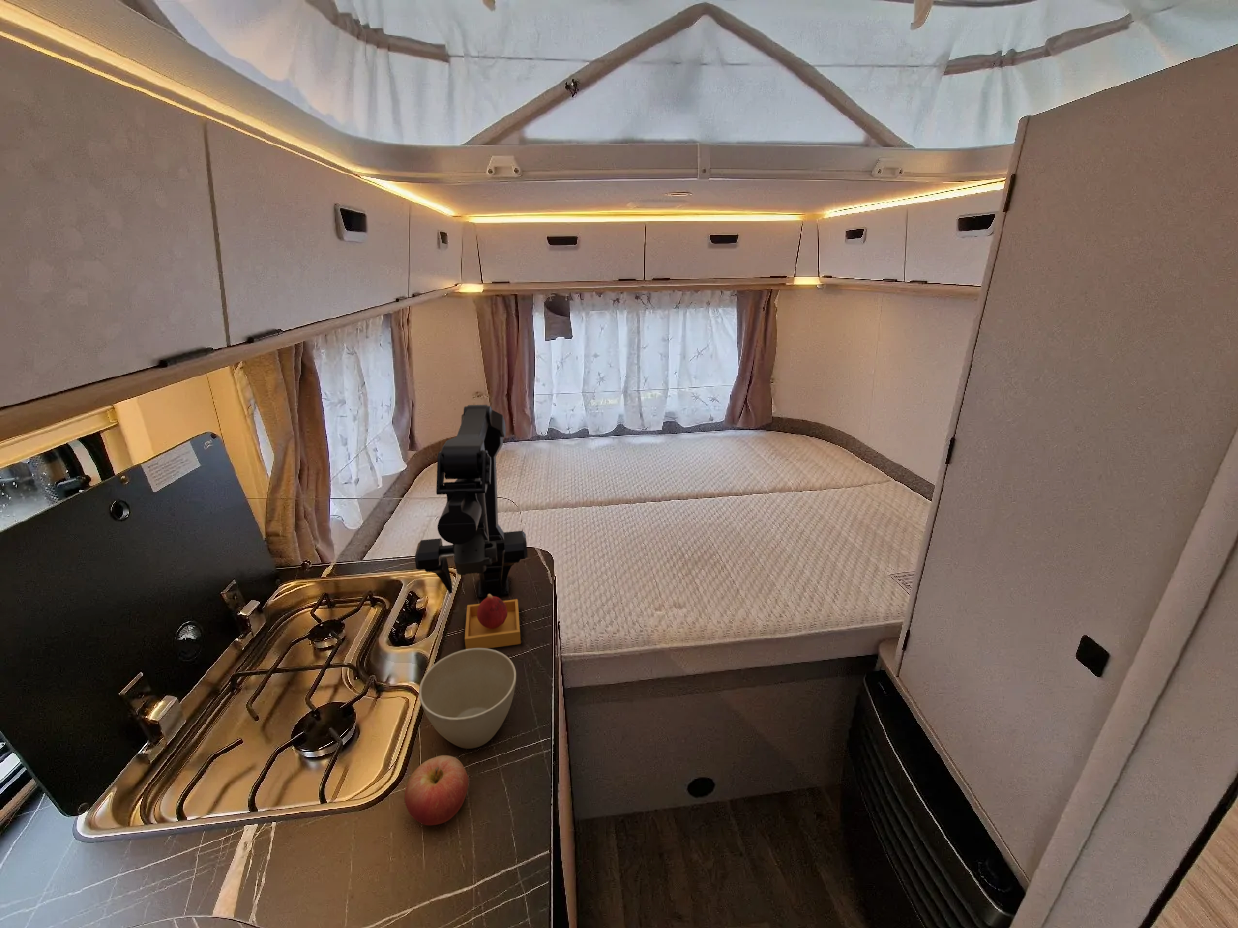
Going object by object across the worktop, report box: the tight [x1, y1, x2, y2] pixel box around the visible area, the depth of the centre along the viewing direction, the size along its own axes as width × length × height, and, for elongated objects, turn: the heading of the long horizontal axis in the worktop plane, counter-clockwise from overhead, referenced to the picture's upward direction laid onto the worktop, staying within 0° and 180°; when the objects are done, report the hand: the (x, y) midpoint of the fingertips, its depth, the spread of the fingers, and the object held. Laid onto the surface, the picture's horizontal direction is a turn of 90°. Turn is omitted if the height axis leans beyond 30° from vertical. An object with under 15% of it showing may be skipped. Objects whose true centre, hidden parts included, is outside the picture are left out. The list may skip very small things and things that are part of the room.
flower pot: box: [418, 648, 517, 750], centre depth 80 cm, size 14×14×10 cm
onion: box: [477, 594, 508, 629], centre depth 102 cm, size 6×6×8 cm
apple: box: [404, 754, 470, 826], centre depth 69 cm, size 8×8×8 cm
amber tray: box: [464, 598, 522, 649], centre depth 103 cm, size 10×10×3 cm
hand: (477, 589), depth 94 cm, fingers open, 9 cm apart
